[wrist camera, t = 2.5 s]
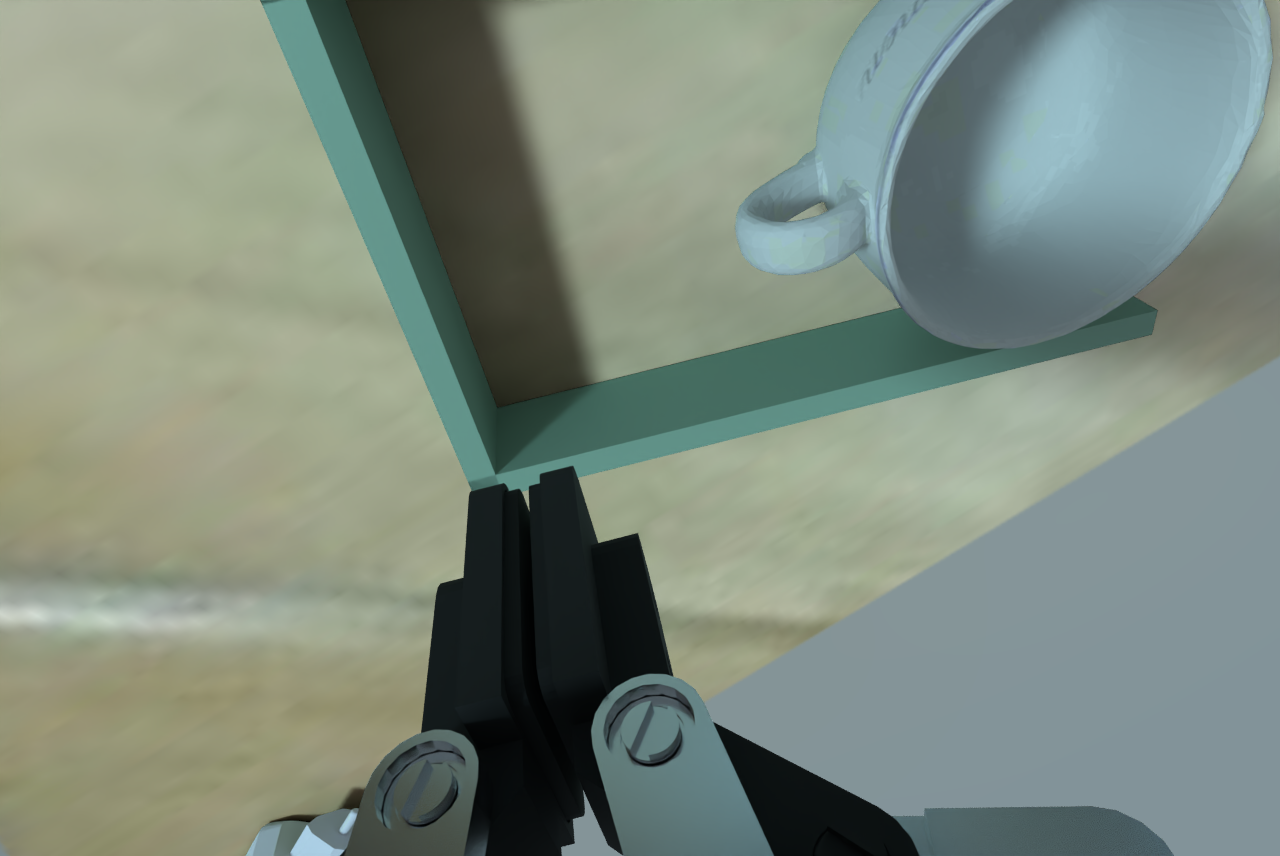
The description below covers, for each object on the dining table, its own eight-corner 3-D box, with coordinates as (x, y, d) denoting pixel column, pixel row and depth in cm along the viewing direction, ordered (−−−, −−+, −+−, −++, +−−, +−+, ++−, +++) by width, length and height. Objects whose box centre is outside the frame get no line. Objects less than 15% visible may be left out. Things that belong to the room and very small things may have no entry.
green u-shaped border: (289, -48, 20) (241, -44, 17) (1163, -256, 21) (1304, -298, 17) (481, 433, 30) (477, 502, 26) (1073, 286, 30) (1151, 334, 27)
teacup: (1121, -86, 23) (1365, -94, 16) (1039, 244, 29) (1192, 334, 23) (690, -47, 22) (767, -39, 15) (699, 288, 28) (756, 396, 22)
